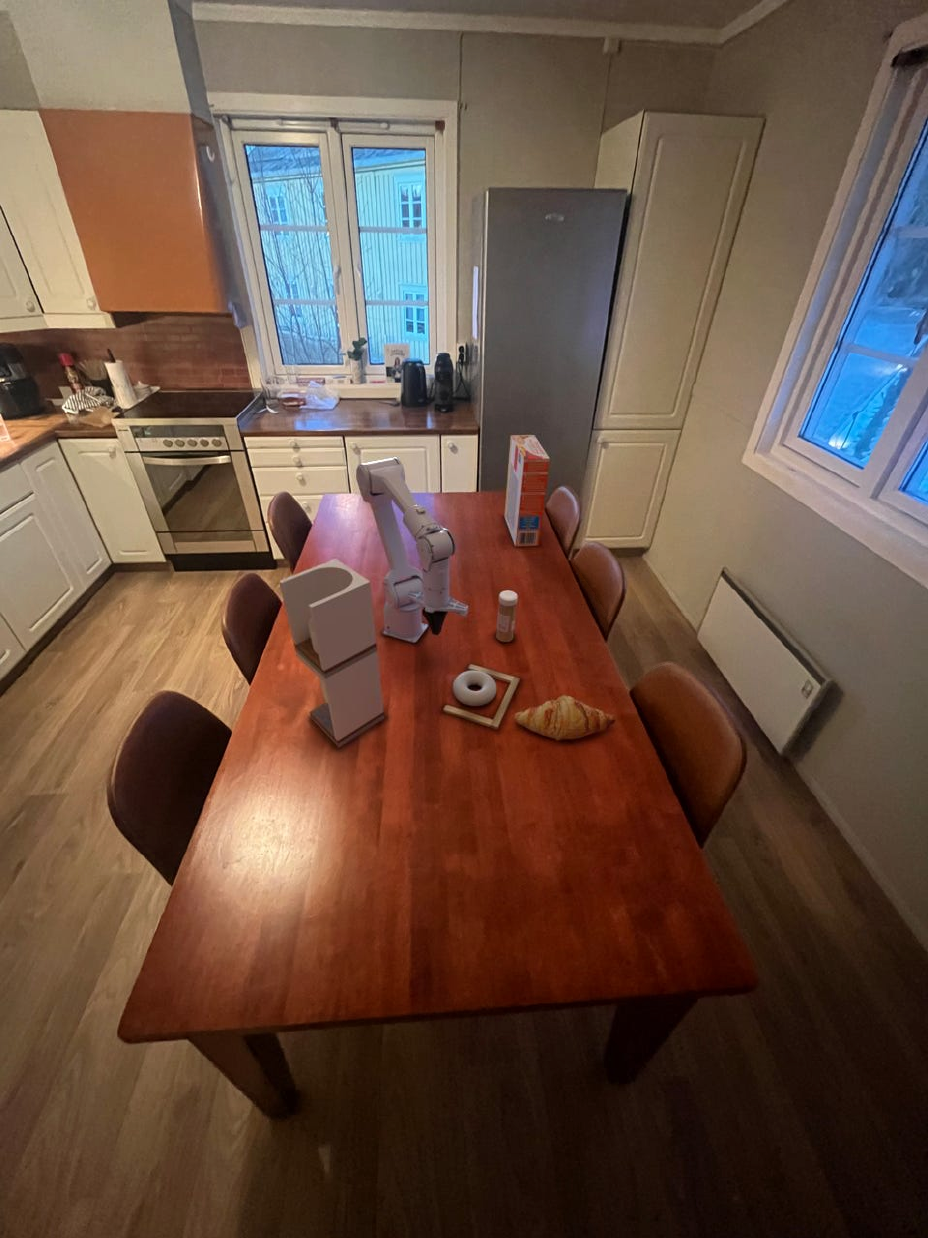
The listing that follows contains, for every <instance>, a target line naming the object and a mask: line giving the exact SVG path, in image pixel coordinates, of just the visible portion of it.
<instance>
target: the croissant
mask: <svg viewBox="0 0 928 1238" xmlns="http://www.w3.org/2000/svg"><path fill="white" fill-rule="evenodd" d="M514 721H515V722H516V723H517V724H518V725H520V726H523V727H525V728H526V729H528V730H529V731H531V732H533V733H537V734H538V735H541V736H543V737H548V738H551V739H554V740H555V741H557V742H558V741H562V740H573V739H574V740H577V739H581V738H584V737H587V736H590V735H592V734H595V733H598V732H602V731H605V730H606V729H608V728H609V727H611V725H613V724H615V722H616V718H615V715H614V714H612V713H609V714H608V713H605V712H604V711H603V710H602V709H601V710H600V709H598V708H595V707H594V708H593V707H591V706H590V705H588V704H586V703H584V701H582V700H577V699H576V698H574V697H573V696H569V695H566V694H565V695H560V696H559V697H557V699H549V700H546V701H545V702H544V703H543V704H542V705H537V706H530V707H528V708H527V709H526V710H524V711H518V712H517V713H515V714H514Z"/></svg>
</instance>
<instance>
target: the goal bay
mask: <svg viewBox="0 0 928 1238" xmlns="http://www.w3.org/2000/svg"><path fill="white" fill-rule="evenodd" d="M467 669H468V670H467V671H481V672H484V673H486V674H488V675H489V676H491V677H492V679H497V680H500V681H503V682H507V683H509V686H508V688H507V690H506V693H504V696H503V698H502V700H501V703H500V705H499V706H498V709H497V710H496V713H495V715H494V717H493V719H491V718H488V717H485V716H482V715H480V714H476V713H473V712H470V711H467V710H464V709H461V708H457V707H454V706H451V705H448V704H446V705H444V708H443V711H442V712H444V713H447V714H450V715H452V716H456V717H458V718H462V719H465V720H466V721H471V722H474V723H477V724H480V725H483V726H486V727H489V728H492V729H495V730H498V728H499V726H500V724H501V722H502V720H503V718H504V715H505V713H506V711H507V709H508V708H509V705H510V703H511V700H512V699H513V696H514V694H515V692H516V690H517V688H518V686H519V684H520V680H521V679H520V678H519V677H516V676H512V675H509V674H506V673H502V672H500V671H495V670H493V669H489V668H486V667H482V666H478V665H475V664H472V663H470V664H469V666H468V667H467Z"/></svg>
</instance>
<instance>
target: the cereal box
mask: <svg viewBox="0 0 928 1238" xmlns="http://www.w3.org/2000/svg"><path fill="white" fill-rule="evenodd" d="M508 454H509V455H508V465H507V477H506V479H507V480H506V491H505V504H504V515H503V518H504V520H505V523H506V525H507V528H508V531H509V533H510V535H511V538H512V541H513V544H514V547H539V546H540V539H541V532H542V531H541V530H542V524H543V516H544V507H545V501H546V492H547V486H548V485H547V484H548V478H549V472H550V471H549V470H550V461H551V458H550V457H549V455H548V453H547V452H546V450H545V449H544V448H543V446H542V445H541V443H540V441H539V439H537V437H536V435H535V434H511V435H510V440H509V453H508Z"/></svg>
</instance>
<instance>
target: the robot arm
mask: <svg viewBox="0 0 928 1238" xmlns="http://www.w3.org/2000/svg"><path fill="white" fill-rule="evenodd" d="M405 472H406V471H405V468H404V465H403V463H402V460H400V459H399V458H398V457H396V456H393V457H391V458H386V459H385V458H384V459H380V460H375V461H371V462H365V463H358V465H357V466H356V470H355V479H356V483H357V486H358V490H359V492H360V496H361V497H362V500H363V502H364V503H369V505H370V507H371V510H372V515H373V517H374V521H375V524H376V526H377V530H378V535H379V537H380V541H381V542H382V543H381V544H382V548H383V551H384V553H385V557H386V560H387V563H388V567H389V570H388V571H387V573H386V575H385V576H384V577H383V579H382V586H383V587H382V588H383V594H384V598H385V599H384V600H385V602H384V605H383V610H382V619H383V629H384V630H383V632H382V634H383V635H385V636H389V637H392V638H395V639H399V640H401V641H405V642H409V643H412V644H416V643H417V642H418V640H420V638H421V636H422V635H423V634H424V633H425V631H426V630H427V629H428V627H429V628H430V631H431V634H432V635H434V636H439V635H440V633H441V632H442V628H443V623H444V622H445V619H446V617H447V615H448V613H449V612H450V613H454V614H456V615H457V614H458V615H459V616H460V617H461V618H466V616H467V615H468V613H469V605H467V604H464V603H462V602H460V601H459V600H457V599H454V598H453V597H451V596H450V571H451V570H450V569H451V568H450V567H451V566H450V565H451V564H450V561H451V560H450V559H451V558H450V557H452V556H454V555H455V553H456V549H457V548H456V542H455V538H454V537H453V534H452V533H451V531H450V530H449V529H447V528H444V527H443V526H442V525H438V523H437V522H436V520H435V519H434V518H433V516H432V515H431V513H430V512H429V510H428V509H427V507H426V506H425V505H422V504H418V503H417V501H416V500H415V497H414V496H413V494H412V491H411V490H410V489H409V487H408V485H407V483H406V473H405ZM393 503H394V504H395V505H396V507H398V509H399V510H400V511H401V513H402V514H403V515H402V523H403V525H404V526H405V528H406V529H407V530H408V532H409V533H410V535H411V537H412V538H413V539H414V541H415V543H416V544H415V545H416V546H415V547H416V551H417V554H418V557H419V564H420V567H421V568H422V571H421V569H419V568H417V567H415V566H413V565H411V563H410V562H409V557H408V553H407V550H406V547H405V544H404V541H403V537H402V534H401V529H400V527H399V523H398V520H397V517H396V513H395V511H394V507H393ZM422 607H423V608H422ZM422 616H423V617H424V618H425V620H426V622H427V623H428V624H427V623H423V622H422V621H423V620H422V619H423V618H422Z"/></svg>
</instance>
